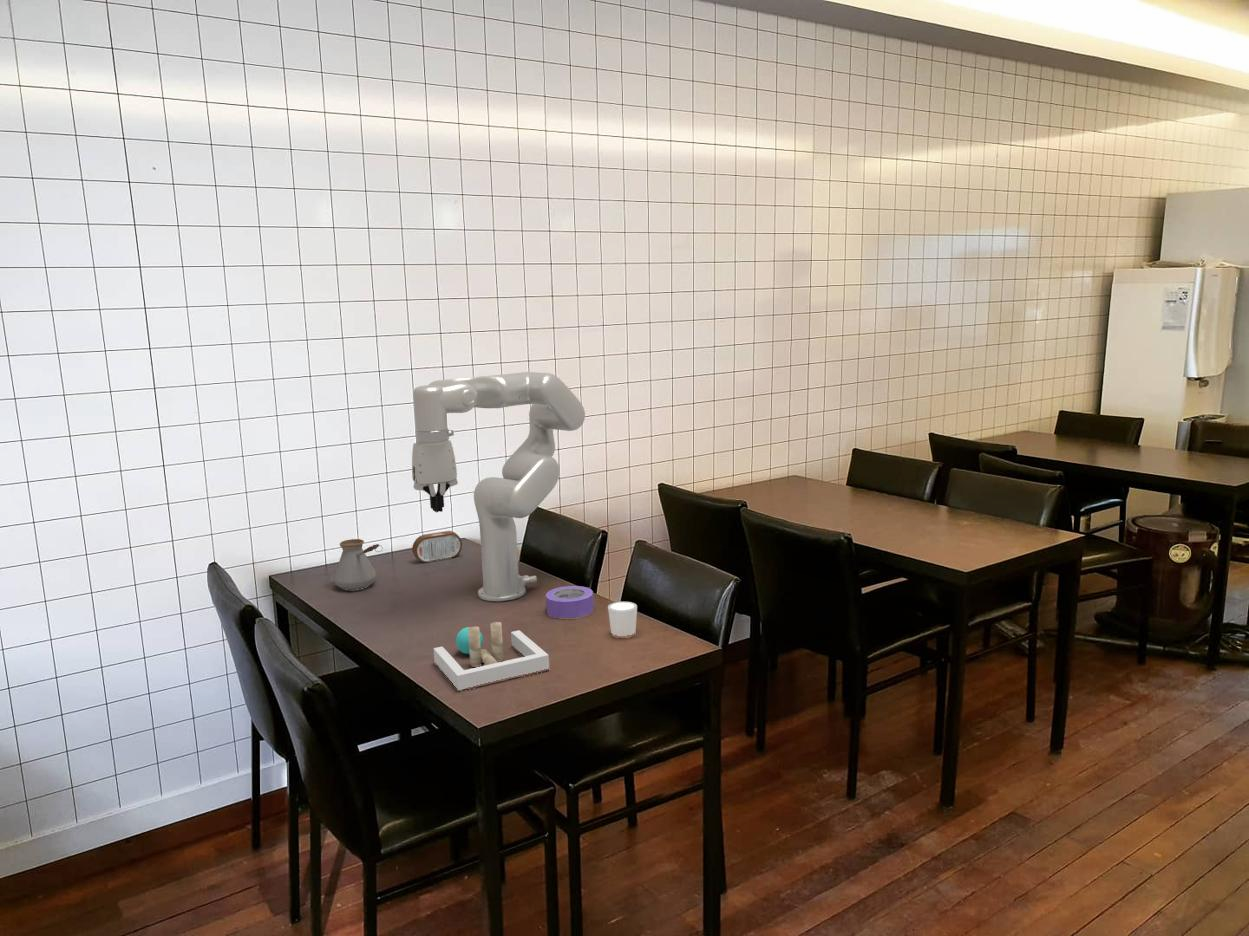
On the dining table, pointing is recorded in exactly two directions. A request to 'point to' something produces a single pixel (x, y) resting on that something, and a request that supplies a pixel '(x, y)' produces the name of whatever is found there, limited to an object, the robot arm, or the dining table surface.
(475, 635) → the pin
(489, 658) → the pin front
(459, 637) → the ball
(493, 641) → the pin
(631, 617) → the white cup
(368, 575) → the coffee pot
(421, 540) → the tin
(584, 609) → the tape roll
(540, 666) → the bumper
